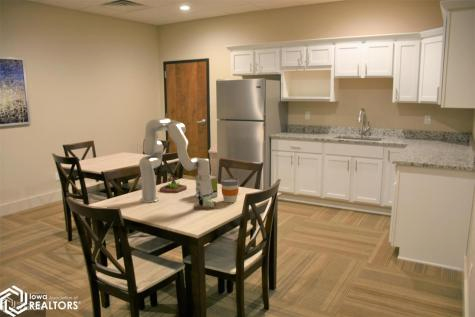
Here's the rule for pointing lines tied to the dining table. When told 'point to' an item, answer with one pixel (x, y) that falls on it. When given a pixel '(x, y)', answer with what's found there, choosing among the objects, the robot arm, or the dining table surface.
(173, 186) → the plant
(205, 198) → the collar
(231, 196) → the reusable coffee cup
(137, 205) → the dining table surface
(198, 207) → the post board
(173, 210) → the dining table surface
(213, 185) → the tea box
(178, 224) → the dining table surface
